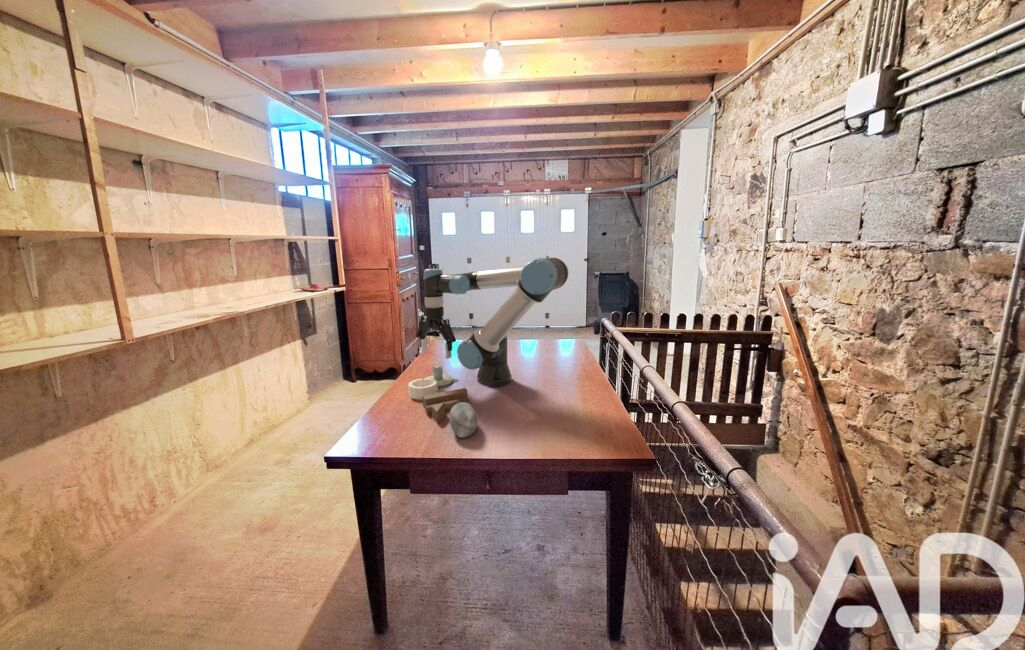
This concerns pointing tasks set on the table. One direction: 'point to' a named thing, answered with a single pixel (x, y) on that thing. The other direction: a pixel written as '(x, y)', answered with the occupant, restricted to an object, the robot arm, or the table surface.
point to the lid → (440, 376)
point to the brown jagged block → (443, 402)
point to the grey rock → (463, 419)
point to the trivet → (449, 384)
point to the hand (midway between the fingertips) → (436, 355)
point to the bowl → (422, 387)
